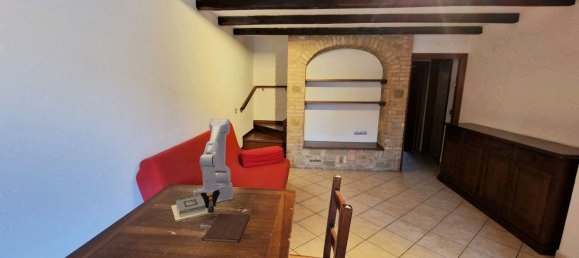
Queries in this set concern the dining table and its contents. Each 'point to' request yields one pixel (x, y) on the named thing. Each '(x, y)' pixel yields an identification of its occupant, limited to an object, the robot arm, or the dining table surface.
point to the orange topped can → (210, 203)
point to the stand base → (178, 218)
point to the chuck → (190, 206)
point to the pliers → (187, 196)
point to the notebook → (227, 228)
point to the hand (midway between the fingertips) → (210, 206)
